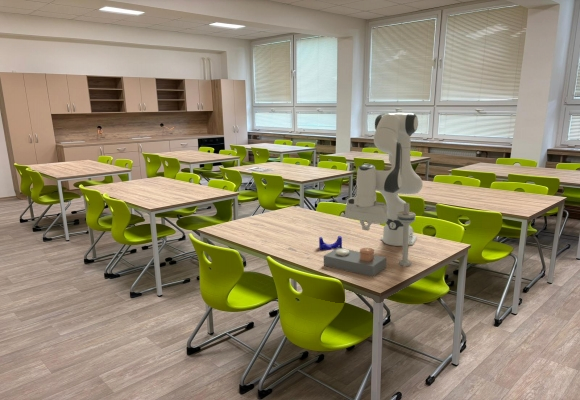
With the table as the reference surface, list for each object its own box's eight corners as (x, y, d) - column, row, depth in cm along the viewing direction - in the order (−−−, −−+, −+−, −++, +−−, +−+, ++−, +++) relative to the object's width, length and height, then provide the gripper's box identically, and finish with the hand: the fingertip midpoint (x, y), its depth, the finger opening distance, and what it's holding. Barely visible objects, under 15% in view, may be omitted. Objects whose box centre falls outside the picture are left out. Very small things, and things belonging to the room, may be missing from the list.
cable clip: (320, 250, 222) (320, 239, 221) (319, 247, 227) (319, 237, 225) (342, 248, 223) (342, 238, 222) (340, 246, 228) (340, 235, 227)
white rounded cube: (340, 259, 206) (340, 248, 205) (351, 262, 202) (351, 250, 201) (333, 263, 201) (333, 251, 200) (345, 266, 197) (345, 254, 196)
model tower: (417, 266, 195) (419, 204, 189) (402, 268, 193) (404, 206, 186) (407, 260, 203) (408, 201, 197) (392, 263, 200) (393, 202, 194)
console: (338, 257, 211) (338, 247, 210) (386, 267, 195) (386, 257, 194) (323, 265, 200) (323, 255, 199) (372, 277, 184) (372, 266, 183)
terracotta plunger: (363, 258, 197) (364, 246, 196) (376, 261, 194) (376, 249, 192) (357, 262, 192) (357, 250, 191) (370, 265, 189) (370, 253, 187)
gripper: (390, 201, 183) (389, 231, 186) (350, 197, 196) (350, 225, 199) (384, 204, 178) (383, 235, 181) (343, 199, 191) (343, 228, 194)
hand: (365, 229), depth 190 cm, fingers closed
